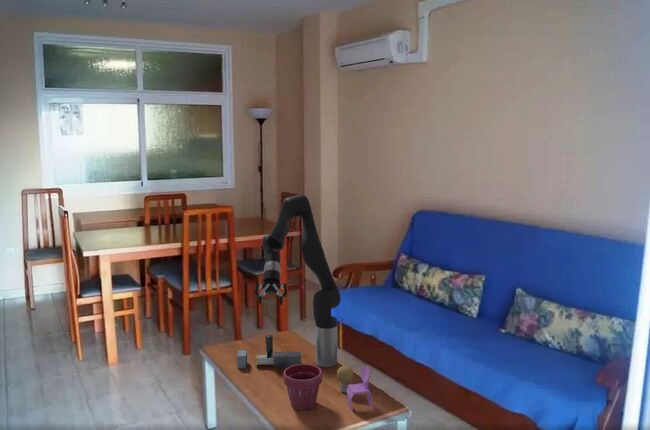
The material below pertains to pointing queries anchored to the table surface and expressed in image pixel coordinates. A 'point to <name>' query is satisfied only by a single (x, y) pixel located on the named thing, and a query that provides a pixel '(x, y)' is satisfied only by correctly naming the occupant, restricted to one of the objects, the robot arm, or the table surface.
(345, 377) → the light bulb
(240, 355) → the socket
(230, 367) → the table surface
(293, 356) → the sleeve
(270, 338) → the block with knob
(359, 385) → the toy chair
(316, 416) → the table surface
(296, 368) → the plant pot
